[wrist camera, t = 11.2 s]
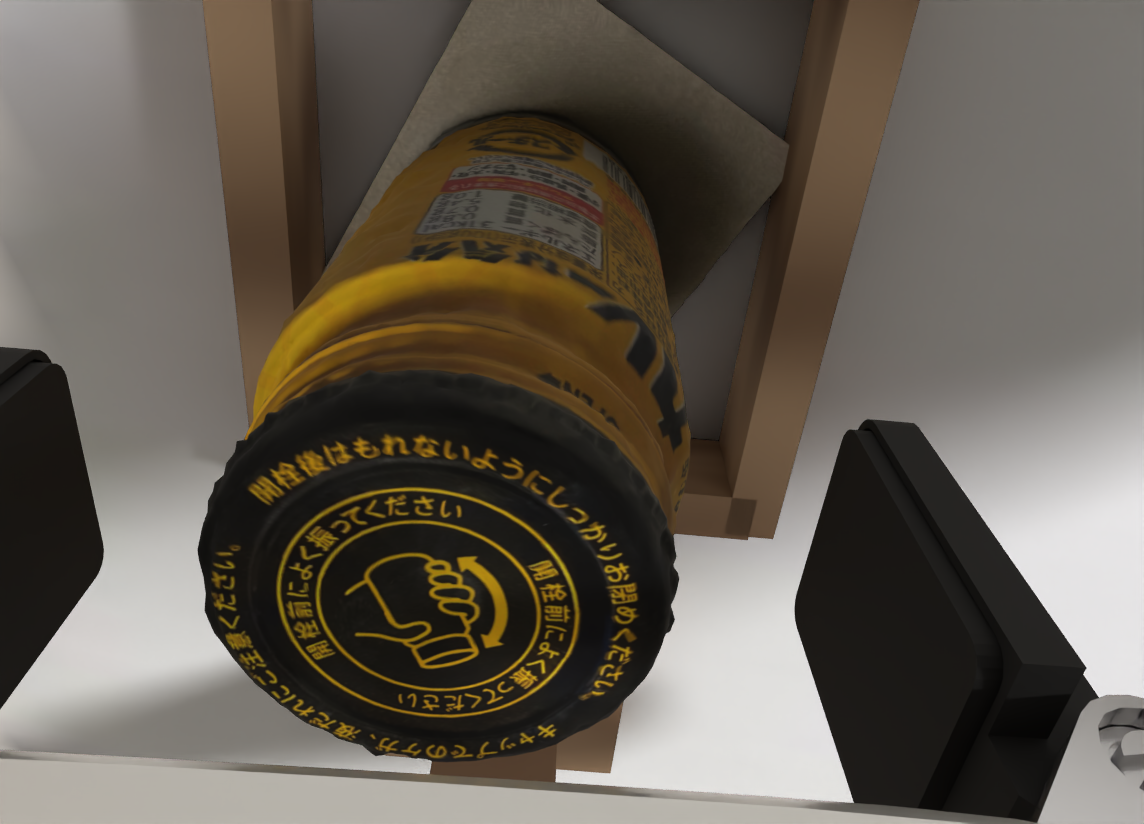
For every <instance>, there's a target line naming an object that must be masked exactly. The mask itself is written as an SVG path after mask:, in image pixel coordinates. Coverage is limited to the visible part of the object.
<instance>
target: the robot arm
mask: <svg viewBox="0 0 1144 824" xmlns="http://www.w3.org/2000/svg"><path fill="white" fill-rule="evenodd" d="M103 553H104V548H103V541H102V537H101V532H100V528H99V523H98V518H97V514H96V509H95V505H94V500H93V496H92V491H91V486H90V482H89V477H88V473H87V468H86V464H85V459H84V454H83V450H82V445H81V441H80V436H79V432H78V427H77V422H76V418H75V413H74V409H73V404H72V399H71V395H70V390H69V386H68V381H67V377H66V374H65V371H64V370H63V369H62V367H61V366H59V365H58V364H52V363H51V360H50V359H49V357H48V356H47V355H46V354H45V353H44V352H42V351H40V350H30V349H18V348H6V347H0V709H1V708H2V706H3V705H4V703H5V702H6V701H7V699H8V698H9V697H10V695H11V694H12V692H13V691H14V690H15V688H16V687H17V686H18V684H19V683H20V681H21V680H22V679H23V677H24V676H25V675H26V673H27V672H28V670H29V669H30V668H31V666H32V665H33V664H34V662H35V661H36V659H37V658H38V657H39V655H40V654H41V652H42V651H43V650H44V648H45V647H46V646H47V644H48V643H49V641H50V640H51V639H52V637H53V636H54V635H55V633H56V632H57V630H58V629H59V628H60V626H61V625H62V624H63V622H64V621H65V619H66V618H67V617H68V615H69V614H70V613H71V611H72V610H73V608H74V607H75V606H76V604H77V603H78V601H79V600H80V599H81V597H82V596H83V595H84V593H85V592H86V590H87V589H88V588H89V586H90V585H91V584H92V582H93V581H94V579H95V578H96V576H97V575H98V573H99V571H100V568H101V565H102V561H103ZM795 621H796V626H797V629H798V632H799V635H800V638H801V641H802V644H803V647H804V651H805V654H806V657H807V660H808V663H809V666H810V669H811V672H812V675H813V678H814V681H815V684H816V687H817V690H818V694H819V697H820V700H821V703H822V706H823V709H824V712H825V715H826V718H827V721H828V724H829V727H830V730H831V733H832V736H833V740H834V743H835V746H836V749H837V752H838V755H839V758H840V761H841V764H842V767H843V770H844V773H845V776H846V779H847V783H848V786H849V789H850V792H851V795H852V798H853V801H854V803H845V802H831V801H817V800H805V799H793V798H781V797H768V796H754V795H738V794H723V793H708V792H693V791H678V790H663V789H648V788H632V787H617V786H602V785H587V784H572V783H557V782H541V781H526V780H511V779H495V778H479V777H462V776H446V775H430V774H413V773H397V772H381V771H364V770H348V769H331V768H314V767H298V766H281V765H264V764H247V763H230V762H213V761H196V760H180V759H161V758H143V757H125V756H106V755H88V754H70V753H52V752H33V751H15V750H0V824H1144V698H1140V697H1136V696H1131V695H1105V696H1103V697H1100V698H1099V697H1098V696H1097V694H1096V693H1095V691H1094V690H1093V688H1092V687H1091V685H1090V684H1089V683H1088V681H1087V680H1086V678H1085V677H1084V675H1083V673H1084V671H1085V670H1086V667H1085V665H1084V664H1083V662H1082V661H1081V659H1080V658H1079V656H1078V655H1077V654H1076V652H1075V651H1074V649H1073V648H1072V646H1071V645H1070V644H1069V642H1068V641H1067V639H1066V638H1065V636H1064V635H1063V634H1062V632H1061V631H1060V629H1059V628H1058V626H1057V625H1056V624H1055V622H1054V621H1053V619H1052V618H1051V616H1050V615H1049V614H1048V612H1047V611H1046V609H1045V608H1044V606H1043V605H1042V603H1041V602H1040V601H1039V599H1038V598H1037V596H1036V595H1035V593H1034V592H1033V591H1032V589H1031V588H1030V586H1029V585H1028V583H1027V582H1026V581H1025V579H1024V578H1023V576H1022V575H1021V573H1020V572H1019V571H1018V569H1017V568H1016V566H1015V565H1014V563H1013V562H1012V561H1011V559H1010V558H1009V556H1008V555H1007V553H1006V552H1005V550H1004V549H1003V548H1002V546H1001V545H1000V543H999V542H998V540H997V539H996V538H995V536H994V535H993V533H992V532H991V530H990V529H989V528H988V526H987V525H986V523H985V522H984V520H983V519H982V518H981V516H980V515H979V513H978V512H977V510H976V509H975V508H974V506H973V505H972V503H971V502H970V500H969V499H968V497H967V496H966V495H965V493H964V492H963V490H962V489H961V487H960V486H959V485H958V483H957V482H956V480H955V479H954V477H953V476H952V475H951V473H950V472H949V470H948V469H947V467H946V466H945V465H944V463H943V462H942V460H941V459H940V457H939V456H938V455H937V453H936V452H935V450H934V449H933V447H932V446H931V444H930V443H929V442H928V440H927V439H926V437H925V436H924V434H923V433H922V432H921V430H920V429H919V427H918V426H916V425H915V424H914V423H906V422H894V421H882V420H870V419H867V420H865V421H864V422H863V423H862V424H861V425H860V427H859V429H858V430H851V429H850V430H848V431H847V432H846V433H845V435H844V437H843V440H842V442H841V446H840V449H839V452H838V456H837V459H836V463H835V466H834V469H833V473H832V476H831V480H830V483H829V486H828V490H827V493H826V496H825V500H824V503H823V507H822V510H821V513H820V517H819V520H818V524H817V527H816V530H815V534H814V537H813V540H812V544H811V547H810V551H809V554H808V557H807V561H806V564H805V568H804V571H803V574H802V578H801V581H800V584H799V588H798V591H797V595H796V599H795Z"/></svg>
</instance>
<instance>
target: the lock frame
mask: <svg viewBox="0 0 1144 824" xmlns="http://www.w3.org/2000/svg"><path fill="white" fill-rule="evenodd" d="M919 1H920V0H814V3H813V8H812V12H811V17H810V21H809V26H808V31H807V35H806V40H805V45H804V49H803V54H802V59H801V63H800V68H799V72H798V77H797V82H796V86H795V91H794V96H793V100H792V105H791V109H790V114H789V119H788V123H787V128H786V133H785V137H784V141H785V142H786V143H787V144H789V150H788V154H787V159H786V164H785V169H784V174H783V179H782V182H781V183H780V184H779V186H778V187H777V189H776V190H775V191H774V193H773V194H772V197H771V202H770V207H769V211H768V216H767V221H766V225H765V230H764V234H763V239H762V244H761V248H760V253H759V258H758V262H757V267H756V271H755V276H754V281H753V285H752V290H751V295H750V299H749V304H748V309H747V313H746V318H745V322H744V327H743V332H742V336H741V341H740V346H739V350H738V355H737V359H736V364H735V369H734V373H733V378H732V383H731V387H730V392H729V396H728V401H727V406H726V410H725V415H724V420H723V424H722V429H721V434H720V438H719V441H713V440H702V439H690V460H689V468H688V475H687V480H686V485H685V488H684V495H683V496H682V499H681V502H680V506H679V510H678V513H677V515H676V523H677V525H676V528H675V532H674V534H685V535H696V536H708V537H719V538H730V539H741V540H748V537H756V538H768V539H773V538H774V534H775V530H776V527H777V523H778V519H779V515H780V512H781V508H782V504H783V501H784V497H785V493H786V490H787V486H788V482H789V479H790V475H791V471H792V468H793V464H794V460H795V457H796V453H797V449H798V446H799V442H800V438H801V435H802V431H803V427H804V424H805V420H806V416H807V413H808V409H809V405H810V402H811V398H812V394H813V391H814V387H815V383H816V380H817V376H818V372H819V369H820V365H821V361H822V357H823V354H824V350H825V346H826V343H827V339H828V335H829V332H830V328H831V324H832V321H833V317H834V313H835V310H836V306H837V302H838V299H839V295H840V291H841V288H842V284H843V280H844V277H845V273H846V269H847V266H848V262H849V258H850V255H851V251H852V247H853V244H854V240H855V236H856V233H857V229H858V225H859V222H860V218H861V214H862V211H863V207H864V203H865V199H866V196H867V192H868V188H869V185H870V181H871V177H872V174H873V170H874V166H875V163H876V159H877V155H878V152H879V148H880V144H881V141H882V137H883V133H884V130H885V126H886V122H887V119H888V115H889V111H890V108H891V104H892V100H893V97H894V93H895V89H896V86H897V82H898V78H899V75H900V71H901V67H902V64H903V60H904V56H905V53H906V49H907V45H908V42H909V38H910V34H911V30H912V27H913V23H914V19H915V16H916V12H917V8H918V5H919ZM203 9H204V18H205V27H206V37H207V46H208V55H209V64H210V73H211V82H212V92H213V101H214V110H215V119H216V128H217V137H218V147H219V156H220V165H221V174H222V183H223V192H224V202H225V211H226V220H227V229H228V238H229V247H230V257H231V266H232V275H233V284H234V293H235V302H236V312H237V321H238V330H239V339H240V348H241V357H242V367H243V376H244V385H245V394H246V403H247V412H248V422H249V428H250V426H251V424H252V422H253V405H254V398H255V393H256V388H257V382H258V377H259V375H260V373H261V371H262V369H263V367H264V364H265V360H266V359H267V357H268V355H269V353H270V351H271V350H272V348H273V346H274V344H275V343H276V341H277V339H278V337H279V334H280V332H281V329H282V327H283V323H284V321H285V320H286V319H287V318H288V317H289V316H290V315H292V314H293V312H294V311H295V310H296V309H297V308H298V306H299V305H300V304H301V303H302V301H303V300H304V299H305V298H306V296H307V295H308V294H309V292H310V291H311V290H312V289H313V288H314V286H315V285H316V284H317V283H318V282H319V280H320V279H321V275H322V274H323V272H324V270H325V268H326V266H325V246H324V226H323V207H322V187H321V168H320V148H319V128H318V109H317V89H316V69H315V50H314V30H313V10H312V0H203ZM622 706H623V702H622V704H621V705H620V706H619V707H618V709H617V710H616V711H615V712H614V713H612V714H611V715H610V716H609V717H608V718H606V719H603V720H601V721H600V722H598V723H596V724H595V725H593V726H591V727H590V728H588V729H586V730H583V731H580V732H577V733H575V734H573V735H571V736H570V737H568V738H566V739H564V740H563V741H561V742H559V743H558V744H556V745H553V746H550V747H547V748H544V749H541V750H538V751H535V752H530V753H525V754H521V755H515V756H508V757H495V758H489V759H484V760H478V761H460V762H433V761H432V764H431V770H430V775H446V776H462V777H479V778H495V779H511V780H526V781H541V782H555V779H556V769H561V770H574V771H587V772H599V773H610V772H611V766H612V761H613V755H614V750H615V745H616V739H617V734H618V728H619V723H620V717H621V712H622ZM385 755H386V756H399V757H409V756H407V755H401V754H394V753H388V754H385Z"/></svg>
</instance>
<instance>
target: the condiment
mask: <svg viewBox="0 0 1144 824" xmlns="http://www.w3.org/2000/svg"><path fill="white" fill-rule="evenodd" d="M788 150H789V144H787V143H786V142H785V141H784V140H782V139H781V138H779V137H778V136H777V135H775V134H773V133H772V132H771V131H770V130H769V129H768V128H766V127H765V126H764V125H762V124H761V123H760V122H758V121H757V120H756V119H754V118H753V117H752V116H750V115H749V114H748V113H746V112H745V111H744V110H742V109H741V108H740V107H738V106H737V105H736V104H734V103H733V102H732V101H730V100H729V99H728V98H726V97H725V96H724V95H722V94H721V93H719V92H718V91H716V90H715V89H714V88H713V87H711V86H710V85H709V84H708V83H707V82H705V81H704V80H703V79H701V78H700V77H698V76H697V75H696V74H694V73H693V72H691V71H690V70H689V69H687V68H686V67H685V66H683V65H682V64H681V63H680V62H678V61H677V60H676V59H674V58H673V57H671V56H670V55H669V54H667V53H666V52H665V51H663V50H662V49H661V48H659V47H658V46H657V45H655V44H654V43H653V42H651V41H650V40H649V39H647V38H646V37H645V36H643V35H642V34H641V33H640V32H639V31H637V30H636V29H635V28H633V27H632V26H630V25H629V24H627V23H626V22H625V21H623V20H622V19H620V18H619V17H618V16H616V15H615V14H614V13H612V12H611V11H609V10H608V9H606V8H605V7H604V6H603V5H601V4H600V3H599V2H597V1H596V0H472V1H471V3H470V5H469V7H468V8H467V10H466V12H465V14H464V16H463V17H462V19H461V21H460V23H459V25H458V26H457V28H456V30H455V32H454V34H453V36H452V37H451V39H450V41H449V44H448V46H447V48H446V50H445V51H444V53H443V55H442V57H441V58H440V60H439V62H438V63H437V65H436V67H435V69H434V70H433V72H432V74H431V76H430V78H429V79H428V81H427V83H426V85H425V87H424V89H423V91H422V93H421V94H420V96H419V98H418V100H417V102H416V103H415V105H414V107H413V109H412V111H411V113H410V115H409V116H408V118H407V120H406V122H405V124H404V126H403V128H402V130H401V131H400V133H399V135H398V137H397V139H396V141H395V142H394V144H393V146H392V148H391V150H390V152H389V153H388V155H387V157H386V159H385V161H384V162H383V164H382V166H381V168H380V170H379V172H378V173H377V175H376V177H375V179H374V181H373V183H372V184H371V186H370V188H369V190H368V192H367V194H366V195H365V197H364V199H363V201H362V203H361V205H360V206H359V208H358V210H357V212H356V214H355V216H354V217H353V219H352V221H351V223H350V225H349V226H348V228H347V230H346V232H345V234H344V235H343V237H342V239H341V241H340V243H339V245H338V247H337V248H336V250H335V252H334V254H333V256H332V257H331V259H330V261H329V263H328V265H327V267H326V268H325V270H324V272H323V274H322V275H321V279H320V280H319V282H318V283H317V284H316V285H315V286H314V288H313V289H312V290H311V291H310V292H309V294H308V295H307V296H306V298H305V299H304V300H303V301H302V303H301V304H300V305H299V306H298V308H297V309H296V310H295V311H294V312H293V314H292V315H290V316H289V317H288V318H287V319H286V320H285V321H284V323H283V327H282V329H281V332H280V334H279V337H278V339H277V341H276V343H275V344H274V346H273V348H272V350H271V351H270V353H269V355H268V357H267V359H266V360H265V364H264V367H263V369H262V371H261V373H260V375H259V377H258V382H257V388H256V393H255V398H254V405H253V422H252V424H251V426H250V428H249V429H248V432H247V434H246V437H245V439H244V440H242V441H237V443H236V450H235V453H234V454H233V456H232V457H231V458H230V459H229V461H228V462H227V463H226V467H225V472H224V475H223V476H222V477H221V478H220V479H219V480H218V481H216V482H215V484H214V489H213V492H212V494H211V496H210V498H209V500H208V513H207V515H206V517H205V521H204V523H203V527H202V531H201V536H200V541H199V546H198V556H199V561H200V565H201V569H202V573H203V576H204V584H205V591H206V599H205V613H206V615H207V617H208V620H209V622H210V624H211V627H212V629H213V631H214V633H215V634H216V636H217V637H218V638H219V639H220V641H221V642H222V643H223V644H224V646H225V647H226V649H227V650H228V651H229V653H230V654H231V656H232V657H233V658H234V660H235V661H236V662H237V663H238V664H239V666H240V667H241V668H242V669H243V670H244V672H245V673H246V674H247V675H248V676H249V677H250V678H251V679H252V680H253V681H254V683H255V684H256V685H258V686H259V687H260V688H262V689H263V690H264V691H265V692H267V693H268V694H269V695H270V696H271V697H272V698H273V699H275V700H276V701H277V702H278V703H279V704H280V705H282V706H284V707H285V708H287V709H288V710H289V711H291V712H292V713H293V714H294V715H295V716H297V717H298V718H300V719H301V720H302V721H304V722H306V723H308V724H310V725H312V726H315V727H318V728H321V729H323V730H325V731H327V732H329V733H331V734H333V735H334V736H335V737H337V738H338V739H342V740H345V741H348V742H352V743H356V744H360V745H363V746H364V747H365V748H366V749H367V750H368V751H370V752H371V753H372V754H374V755H375V756H379V755H384V754H388V753H394V754H401V755H407V756H409V757H411V758H415V759H417V758H422V759H428V760H431V761H433V762H460V761H478V760H484V759H489V758H495V757H508V756H515V755H521V754H525V753H530V752H535V751H538V750H541V749H544V748H547V747H550V746H553V745H556V744H558V743H559V742H561V741H563V740H564V739H566V738H568V737H570V736H571V735H573V734H575V733H577V732H580V731H583V730H586V729H588V728H590V727H591V726H593V725H595V724H596V723H598V722H600V721H601V720H603V719H606V718H608V717H609V716H610V715H611V714H612V713H614V712H615V711H616V710H617V709H618V707H619V706H620V705H621V704H622V702H623V701H624V700H625V699H626V698H627V697H628V696H629V695H630V694H631V693H632V692H633V691H634V690H635V689H636V688H637V686H638V685H639V684H640V683H641V682H642V681H643V680H644V679H645V677H646V676H647V674H648V673H649V671H650V670H651V668H652V667H653V664H654V662H655V659H656V657H657V655H658V653H659V651H660V648H661V646H662V643H663V639H664V637H665V634H666V633H668V632H670V630H671V627H672V625H673V623H674V620H675V619H674V615H673V611H672V608H671V603H672V601H673V599H674V597H675V594H676V591H677V587H678V582H679V576H678V572H677V571H676V570H675V568H674V565H673V564H674V561H675V559H676V552H675V546H674V537H673V535H674V532H675V528H676V525H677V523H676V515H677V513H678V510H679V506H680V502H681V499H682V496H683V495H684V488H685V485H686V480H687V475H688V468H689V460H690V439H691V432H690V429H689V425H688V420H687V414H686V407H685V400H684V393H683V387H682V382H681V374H680V370H679V365H678V359H677V355H676V345H675V335H674V333H673V330H672V324H671V319H670V318H671V317H672V316H673V315H674V314H675V313H676V311H677V310H678V309H679V308H680V307H681V306H682V305H683V303H684V301H685V300H686V299H687V298H688V297H689V296H690V294H691V293H692V292H693V291H694V290H695V289H696V288H697V287H698V286H699V284H700V283H701V282H702V281H703V280H704V278H705V276H706V275H707V273H708V272H709V271H710V270H711V268H712V267H713V266H714V264H715V263H716V262H717V260H718V259H719V258H720V257H721V256H722V255H723V254H724V252H725V251H726V250H727V249H728V247H729V246H730V244H731V243H732V242H733V240H734V239H735V238H736V236H737V235H738V234H739V233H740V232H741V231H742V229H743V228H744V227H745V225H746V224H747V223H748V221H749V220H750V219H751V218H752V217H753V215H754V214H755V213H756V212H757V211H758V210H759V209H760V208H761V206H762V205H763V204H764V203H765V202H766V200H767V199H768V198H769V197H770V196H771V195H772V194H773V193H774V191H775V190H776V189H777V187H778V186H779V184H780V183H781V182H782V179H783V174H784V169H785V164H786V159H787V154H788Z"/></svg>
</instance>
